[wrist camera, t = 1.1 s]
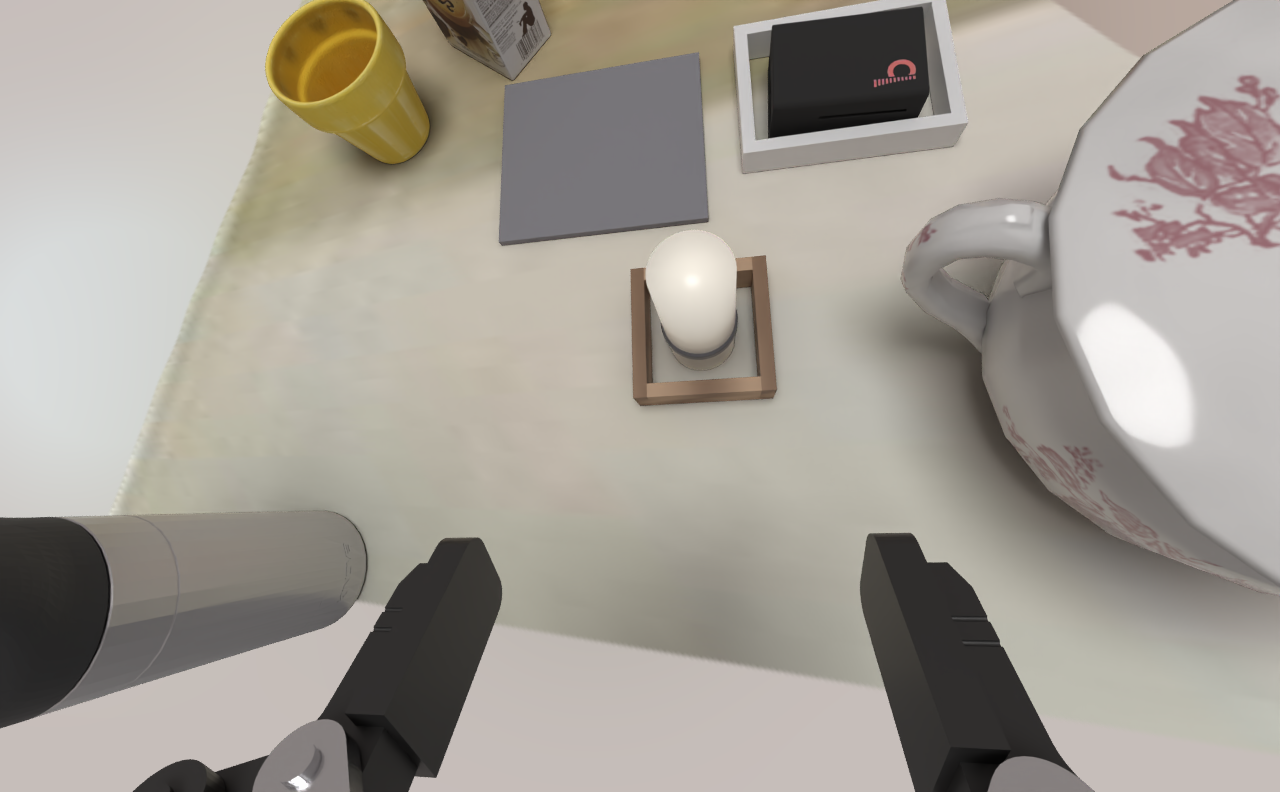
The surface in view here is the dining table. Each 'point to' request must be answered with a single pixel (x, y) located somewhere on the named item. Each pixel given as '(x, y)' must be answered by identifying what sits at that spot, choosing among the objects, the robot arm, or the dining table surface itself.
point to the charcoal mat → (603, 152)
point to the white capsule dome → (695, 296)
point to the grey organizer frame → (856, 139)
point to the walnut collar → (729, 389)
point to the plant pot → (348, 78)
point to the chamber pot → (1145, 304)
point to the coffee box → (493, 30)
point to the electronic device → (847, 71)
